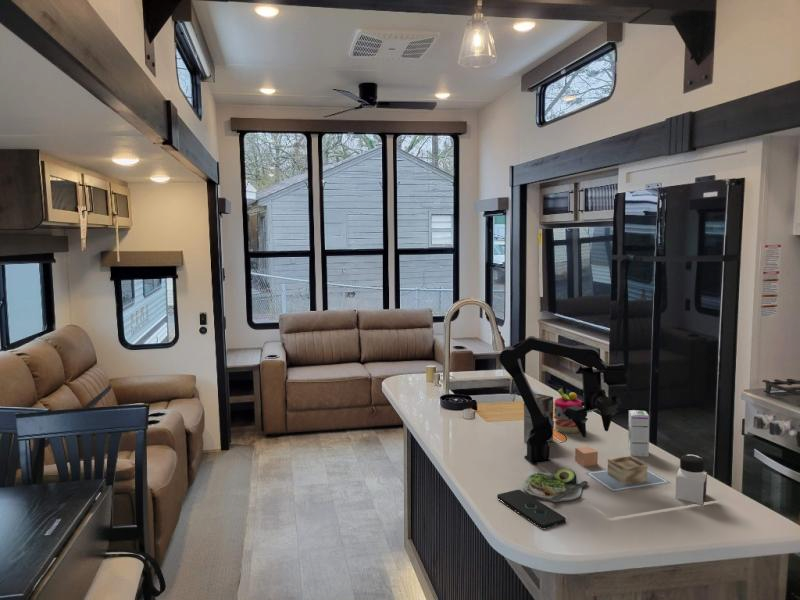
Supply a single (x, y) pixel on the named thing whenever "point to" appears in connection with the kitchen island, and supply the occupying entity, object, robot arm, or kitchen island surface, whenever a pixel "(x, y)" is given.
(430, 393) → the kitchen island surface
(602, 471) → the board
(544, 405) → the coffee box
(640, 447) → the syrup box
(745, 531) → the kitchen island surface
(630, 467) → the oak foundation
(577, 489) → the salad plate
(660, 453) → the kitchen island surface
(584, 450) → the terracotta block
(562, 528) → the kitchen island surface
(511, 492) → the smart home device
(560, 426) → the cake
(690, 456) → the medicine bottle
